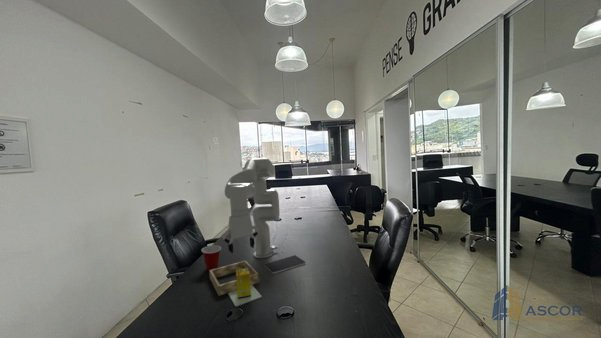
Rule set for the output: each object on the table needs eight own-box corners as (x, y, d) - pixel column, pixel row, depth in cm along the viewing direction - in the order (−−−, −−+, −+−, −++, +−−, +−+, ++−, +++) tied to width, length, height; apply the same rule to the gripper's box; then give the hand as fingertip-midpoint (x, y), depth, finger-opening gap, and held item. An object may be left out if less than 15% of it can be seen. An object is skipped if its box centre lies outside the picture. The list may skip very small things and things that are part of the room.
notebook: (295, 257, 153) (263, 266, 143) (295, 255, 153) (263, 264, 142) (306, 264, 142) (272, 275, 132) (305, 262, 142) (272, 272, 132)
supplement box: (237, 292, 114) (235, 269, 114) (250, 290, 116) (248, 267, 115) (237, 299, 109) (236, 275, 108) (251, 296, 110) (249, 273, 110)
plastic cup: (216, 273, 136) (214, 252, 135) (198, 272, 138) (197, 251, 137) (225, 264, 146) (224, 245, 146) (209, 263, 149) (208, 244, 148)
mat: (252, 285, 120) (252, 285, 120) (261, 297, 110) (261, 296, 110) (228, 293, 114) (228, 293, 114) (235, 306, 104) (235, 305, 104)
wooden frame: (246, 268, 140) (245, 260, 140) (259, 282, 123) (258, 273, 123) (209, 278, 130) (209, 270, 130) (218, 295, 113) (218, 286, 113)
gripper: (254, 208, 118) (256, 242, 119) (218, 214, 109) (220, 251, 110) (260, 210, 112) (262, 247, 113) (222, 217, 103) (225, 257, 104)
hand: (241, 249), depth 111 cm, fingers open, 9 cm apart
